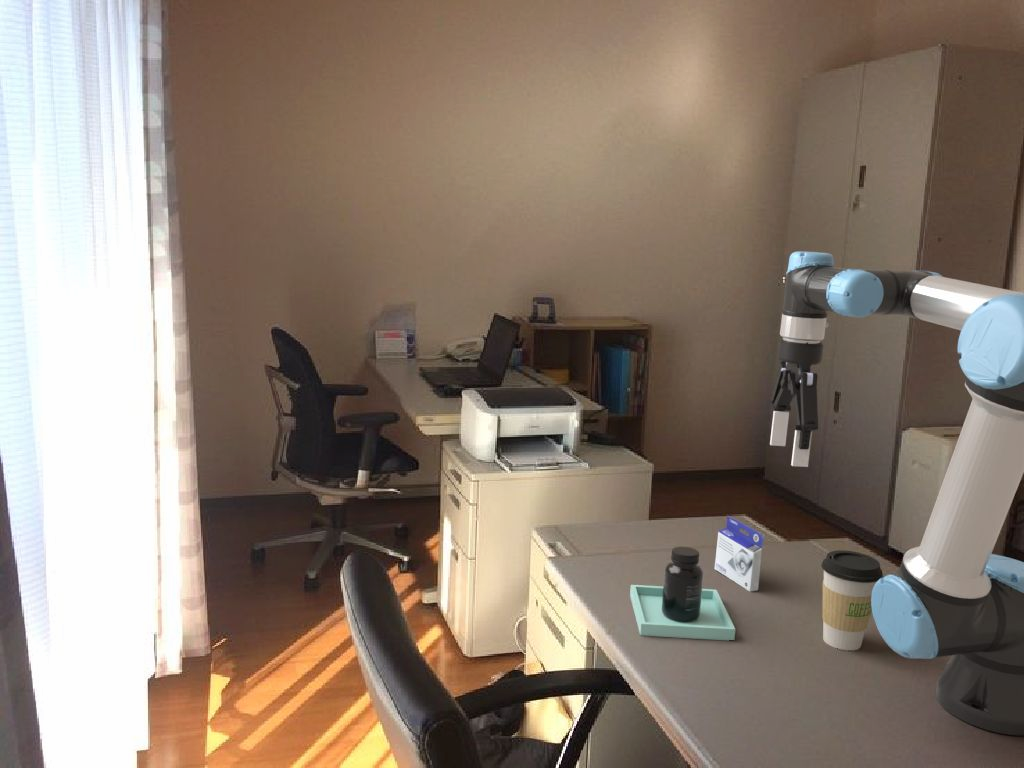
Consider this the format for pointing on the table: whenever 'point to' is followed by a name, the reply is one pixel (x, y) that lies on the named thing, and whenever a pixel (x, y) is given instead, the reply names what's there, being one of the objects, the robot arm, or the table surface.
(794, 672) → the table surface
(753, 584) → the ink box
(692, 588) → the supplement bottle
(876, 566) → the coffee cup
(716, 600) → the tray
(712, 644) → the table surface
